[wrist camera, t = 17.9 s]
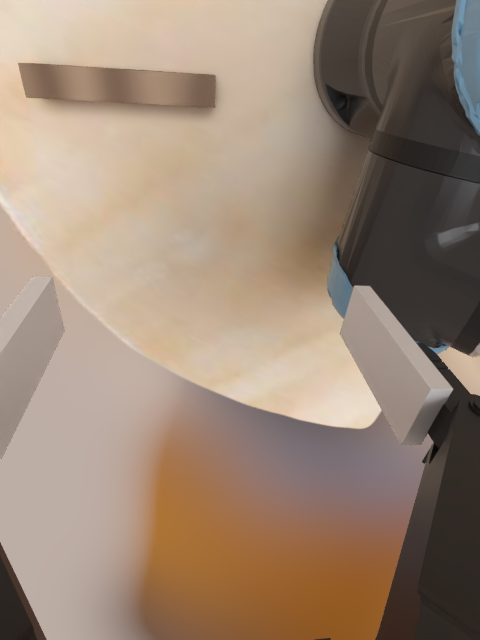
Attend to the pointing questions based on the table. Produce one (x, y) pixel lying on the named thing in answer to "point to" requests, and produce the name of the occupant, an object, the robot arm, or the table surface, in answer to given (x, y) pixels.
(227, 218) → the table surface
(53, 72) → the rail
